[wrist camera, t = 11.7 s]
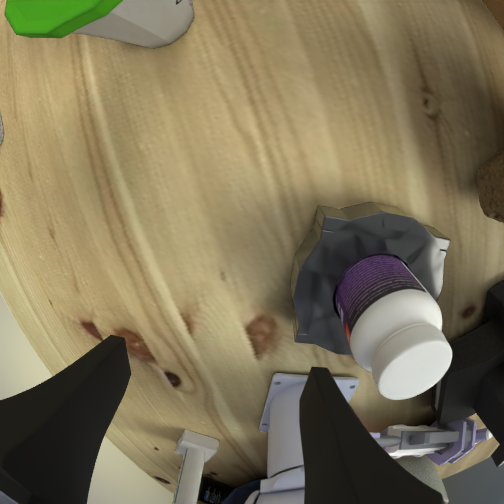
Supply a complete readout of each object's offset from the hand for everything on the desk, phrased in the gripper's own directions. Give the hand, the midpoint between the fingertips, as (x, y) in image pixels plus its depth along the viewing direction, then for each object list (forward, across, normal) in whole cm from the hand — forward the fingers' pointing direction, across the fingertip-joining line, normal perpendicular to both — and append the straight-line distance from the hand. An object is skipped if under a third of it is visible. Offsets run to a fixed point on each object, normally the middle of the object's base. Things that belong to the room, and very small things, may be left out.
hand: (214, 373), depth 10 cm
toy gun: (+5, -27, +15) cm, 32 cm away
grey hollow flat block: (+10, -9, 0) cm, 14 cm away
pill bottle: (+11, -9, 0) cm, 14 cm away
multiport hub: (+8, 0, +42) cm, 43 cm away
